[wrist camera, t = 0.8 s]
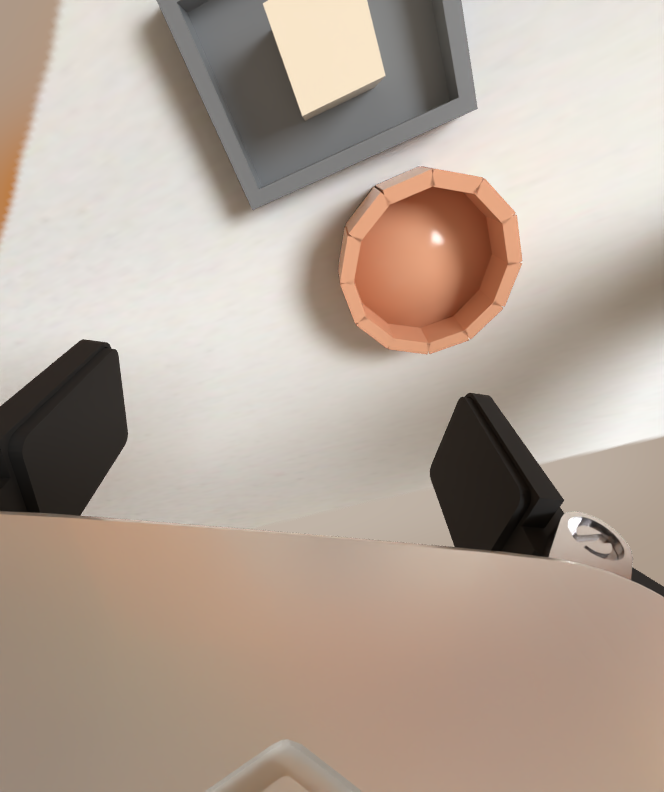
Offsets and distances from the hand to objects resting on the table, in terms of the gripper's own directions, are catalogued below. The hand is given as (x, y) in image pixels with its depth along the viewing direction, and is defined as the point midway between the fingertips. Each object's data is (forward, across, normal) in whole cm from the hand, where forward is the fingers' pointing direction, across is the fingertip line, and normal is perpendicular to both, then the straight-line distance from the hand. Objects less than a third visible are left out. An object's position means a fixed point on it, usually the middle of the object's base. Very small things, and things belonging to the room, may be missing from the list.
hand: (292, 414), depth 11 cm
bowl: (+24, -9, 0) cm, 26 cm away
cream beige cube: (+24, 0, -11) cm, 26 cm away
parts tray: (+24, 0, -11) cm, 27 cm away
